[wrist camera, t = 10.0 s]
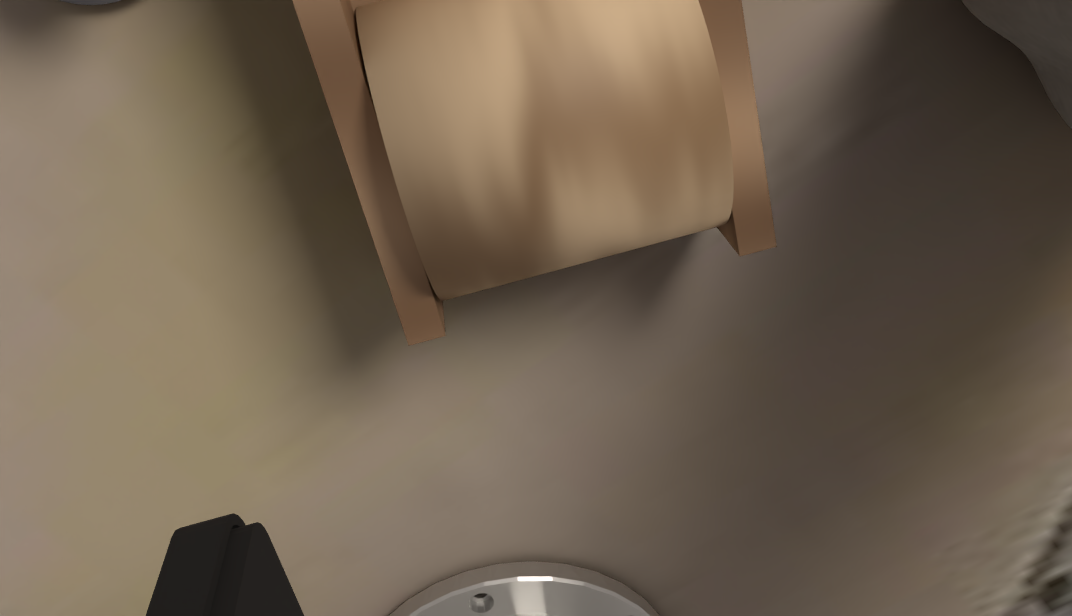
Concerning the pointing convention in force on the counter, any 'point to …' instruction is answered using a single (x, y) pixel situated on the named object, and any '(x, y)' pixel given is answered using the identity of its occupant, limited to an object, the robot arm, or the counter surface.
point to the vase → (1037, 40)
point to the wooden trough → (537, 134)
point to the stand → (90, 1)
